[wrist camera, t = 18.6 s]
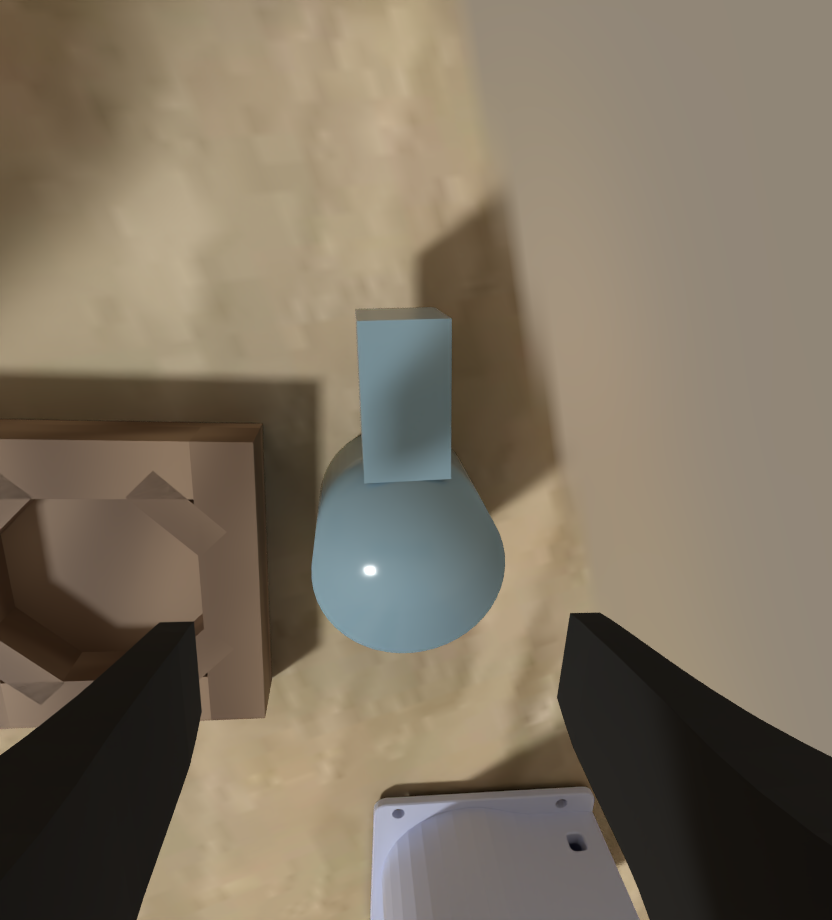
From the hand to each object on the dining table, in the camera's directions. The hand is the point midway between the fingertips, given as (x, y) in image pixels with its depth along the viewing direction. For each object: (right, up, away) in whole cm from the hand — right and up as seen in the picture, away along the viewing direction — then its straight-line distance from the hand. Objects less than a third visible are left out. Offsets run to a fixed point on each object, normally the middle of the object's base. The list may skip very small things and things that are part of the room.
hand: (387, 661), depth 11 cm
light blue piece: (0, +4, +9) cm, 10 cm away
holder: (-10, 0, +9) cm, 13 cm away
